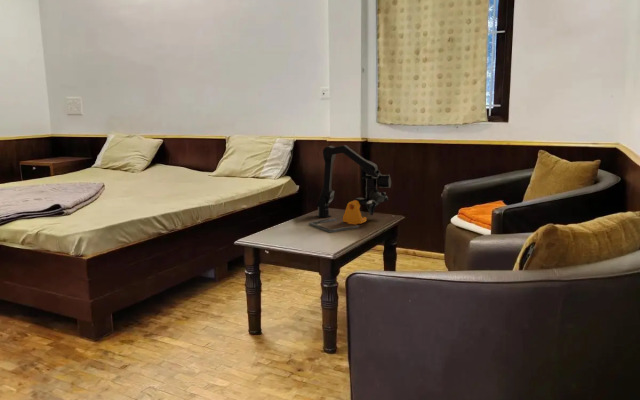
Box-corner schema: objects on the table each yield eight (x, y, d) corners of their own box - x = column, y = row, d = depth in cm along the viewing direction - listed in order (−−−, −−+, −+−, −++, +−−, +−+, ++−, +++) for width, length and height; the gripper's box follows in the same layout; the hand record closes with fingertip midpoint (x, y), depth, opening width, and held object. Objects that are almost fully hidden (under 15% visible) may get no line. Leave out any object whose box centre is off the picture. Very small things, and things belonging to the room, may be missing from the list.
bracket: (367, 222, 272) (367, 200, 270) (360, 225, 266) (360, 202, 264) (349, 220, 278) (349, 198, 276) (342, 222, 272) (342, 200, 270)
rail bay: (308, 224, 270) (308, 222, 270) (336, 220, 279) (336, 217, 278) (330, 232, 252) (329, 230, 252) (358, 227, 261) (358, 225, 261)
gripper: (366, 190, 263) (366, 220, 266) (394, 187, 272) (394, 215, 275) (353, 187, 272) (354, 216, 275) (381, 184, 282) (381, 212, 285)
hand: (371, 215), depth 277 cm, fingers closed
